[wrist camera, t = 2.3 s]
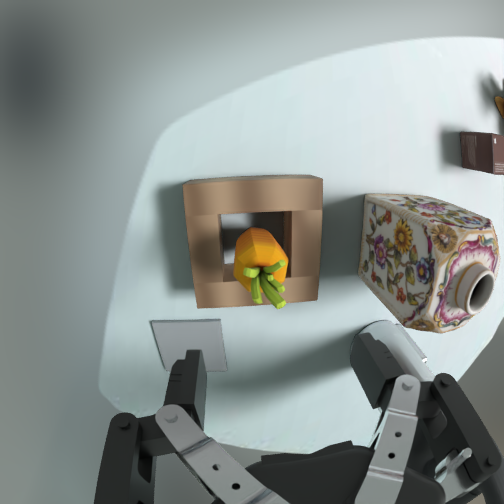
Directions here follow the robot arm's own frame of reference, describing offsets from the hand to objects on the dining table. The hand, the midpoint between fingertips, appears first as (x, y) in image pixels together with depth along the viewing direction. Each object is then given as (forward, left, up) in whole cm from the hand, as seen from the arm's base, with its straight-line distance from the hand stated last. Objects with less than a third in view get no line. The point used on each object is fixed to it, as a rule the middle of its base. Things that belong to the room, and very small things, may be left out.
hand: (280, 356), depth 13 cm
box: (-36, -13, -22) cm, 44 cm away
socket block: (0, 0, -21) cm, 21 cm away
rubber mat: (+10, +17, -21) cm, 29 cm away
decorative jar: (-20, +1, -22) cm, 29 cm away
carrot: (0, 0, -22) cm, 22 cm away
